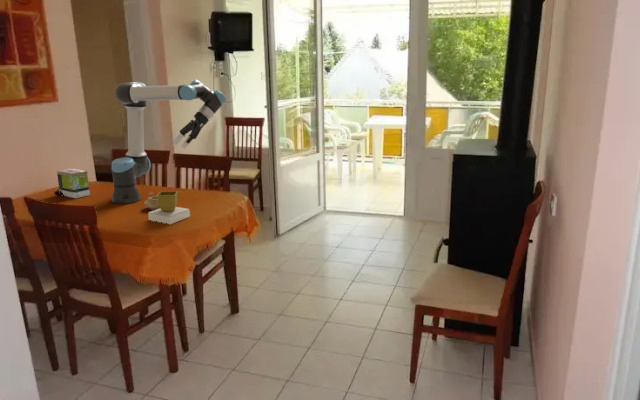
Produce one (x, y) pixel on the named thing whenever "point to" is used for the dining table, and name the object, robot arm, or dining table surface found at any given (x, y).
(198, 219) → the dining table surface
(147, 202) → the oil lamp
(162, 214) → the plinth
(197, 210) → the dining table surface
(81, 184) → the tea box
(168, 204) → the flower pot
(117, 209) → the dining table surface
